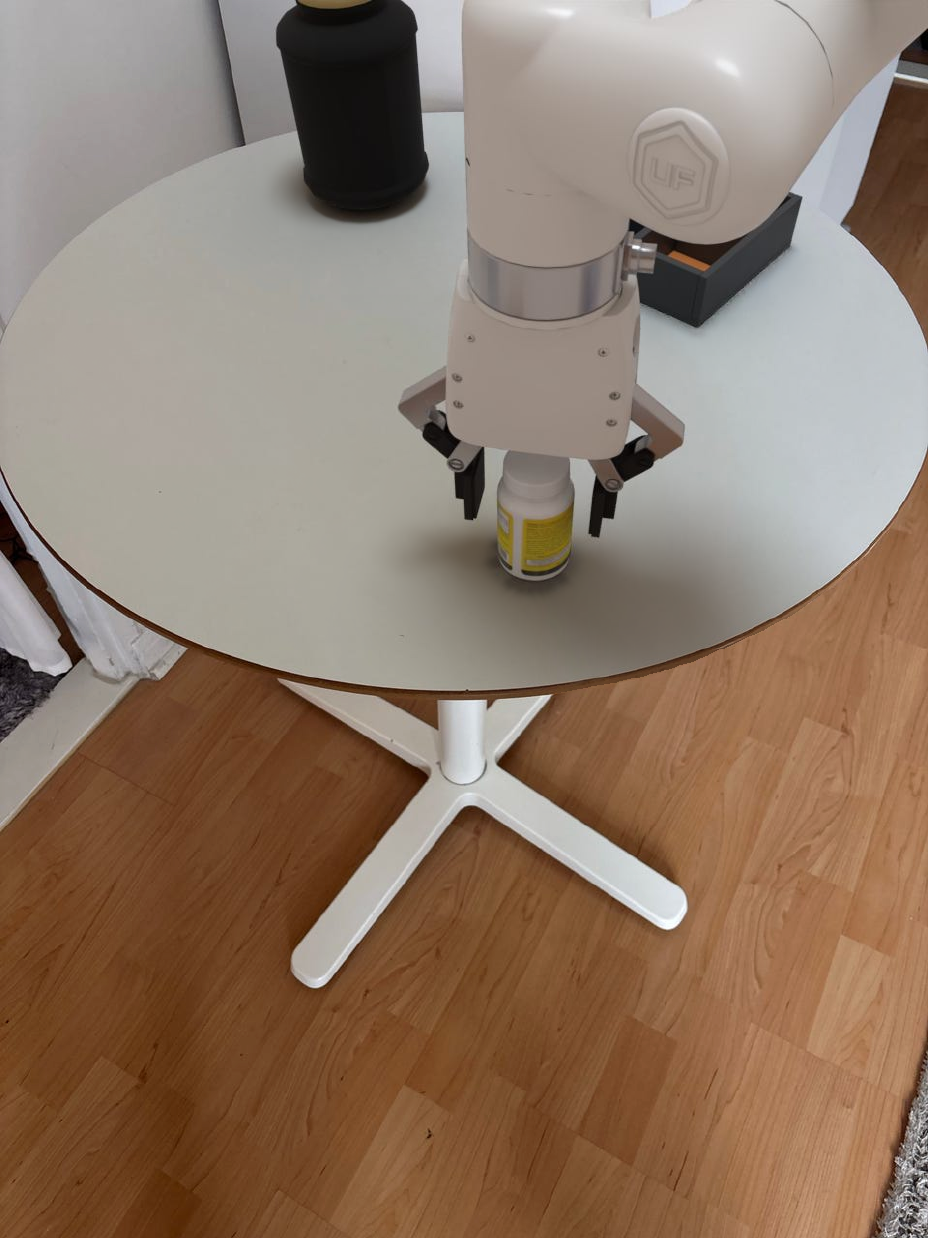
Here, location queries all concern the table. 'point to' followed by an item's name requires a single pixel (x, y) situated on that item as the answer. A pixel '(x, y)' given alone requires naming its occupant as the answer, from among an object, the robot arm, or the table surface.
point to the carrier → (711, 265)
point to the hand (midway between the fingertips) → (535, 510)
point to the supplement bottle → (535, 515)
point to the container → (355, 99)
